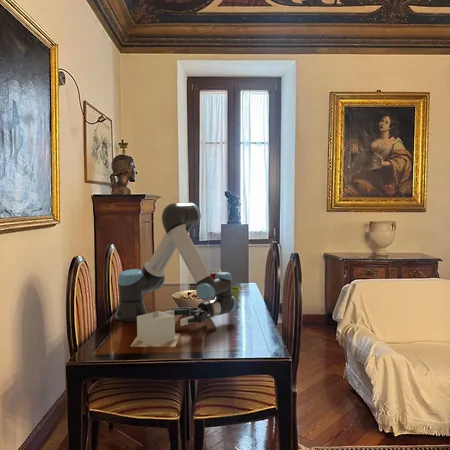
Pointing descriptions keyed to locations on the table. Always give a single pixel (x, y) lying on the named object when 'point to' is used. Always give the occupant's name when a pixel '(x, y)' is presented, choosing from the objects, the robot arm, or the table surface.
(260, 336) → the table surface
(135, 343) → the maple board
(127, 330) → the table surface
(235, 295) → the plant pot
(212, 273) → the plastic cup
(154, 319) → the white cube
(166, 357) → the table surface
